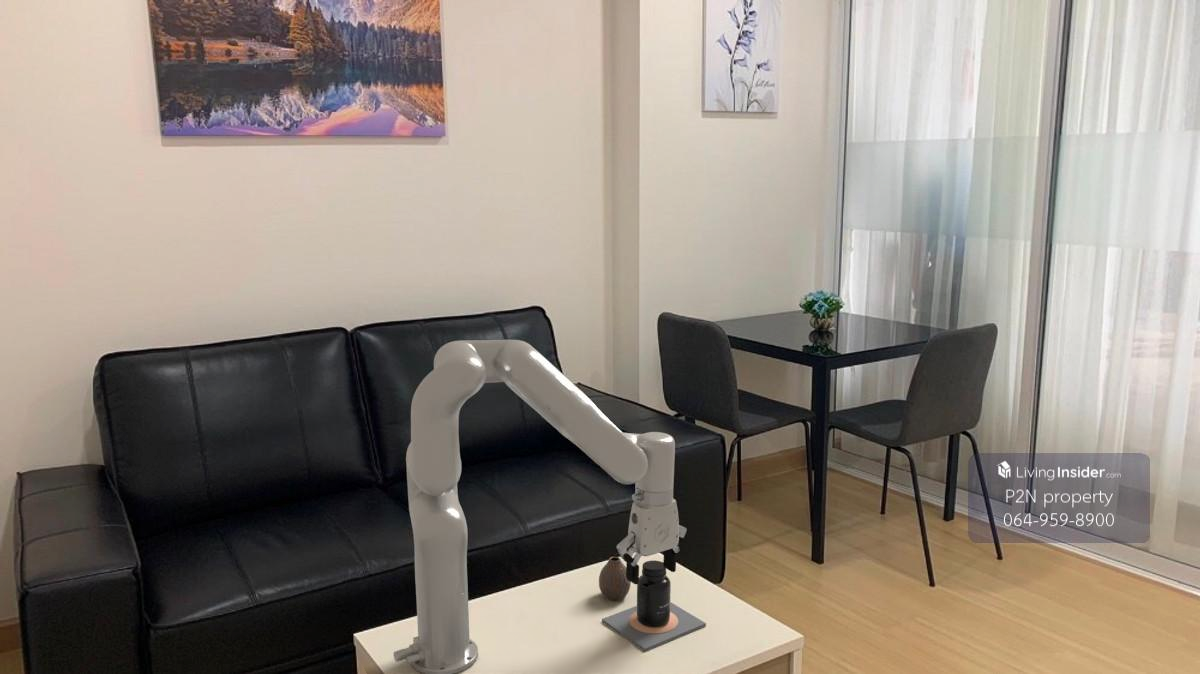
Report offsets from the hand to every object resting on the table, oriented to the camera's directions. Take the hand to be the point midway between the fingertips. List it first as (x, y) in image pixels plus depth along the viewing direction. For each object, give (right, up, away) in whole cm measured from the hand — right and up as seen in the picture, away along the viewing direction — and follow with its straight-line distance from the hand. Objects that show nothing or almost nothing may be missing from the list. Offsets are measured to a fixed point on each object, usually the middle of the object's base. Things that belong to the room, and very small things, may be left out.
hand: (651, 575), depth 172 cm
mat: (+1, -11, +2) cm, 11 cm away
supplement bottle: (+1, -10, +2) cm, 10 cm away
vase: (-7, -9, +14) cm, 18 cm away
